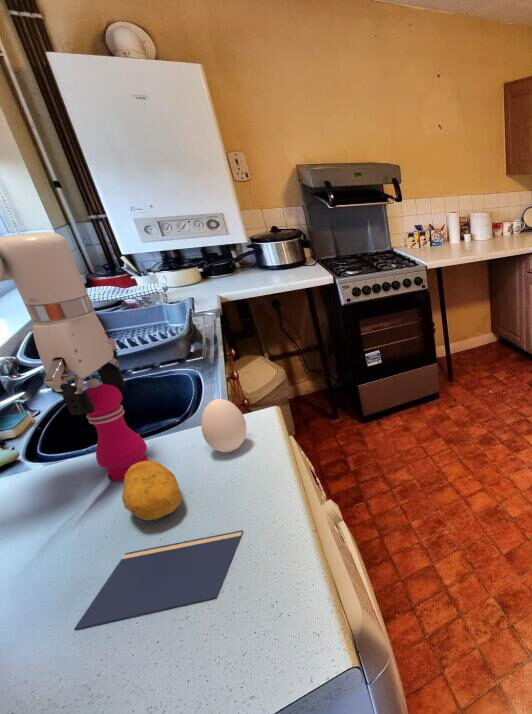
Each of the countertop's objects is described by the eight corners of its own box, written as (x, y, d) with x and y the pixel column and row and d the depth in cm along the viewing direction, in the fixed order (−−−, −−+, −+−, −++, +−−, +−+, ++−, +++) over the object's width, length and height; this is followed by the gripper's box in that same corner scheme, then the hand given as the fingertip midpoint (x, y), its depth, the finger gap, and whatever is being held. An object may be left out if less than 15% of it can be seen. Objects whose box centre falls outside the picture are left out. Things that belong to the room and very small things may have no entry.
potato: (136, 543, 68) (120, 508, 65) (126, 498, 77) (111, 465, 75) (191, 518, 72) (178, 484, 70) (175, 478, 82) (163, 447, 79)
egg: (207, 465, 85) (189, 413, 81) (213, 444, 92) (197, 396, 87) (250, 454, 88) (235, 404, 84) (253, 435, 95) (239, 387, 90)
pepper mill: (160, 467, 85) (124, 375, 78) (114, 488, 80) (70, 392, 72) (144, 455, 89) (109, 366, 82) (99, 475, 83) (57, 382, 76)
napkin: (74, 630, 55) (73, 628, 55) (126, 554, 66) (125, 552, 66) (216, 598, 59) (216, 596, 59) (243, 531, 70) (242, 529, 69)
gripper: (69, 297, 79) (104, 381, 86) (-10, 329, 64) (40, 429, 70) (117, 293, 81) (148, 376, 87) (53, 323, 65) (96, 421, 72)
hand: (100, 399), depth 79 cm, fingers open, 9 cm apart
